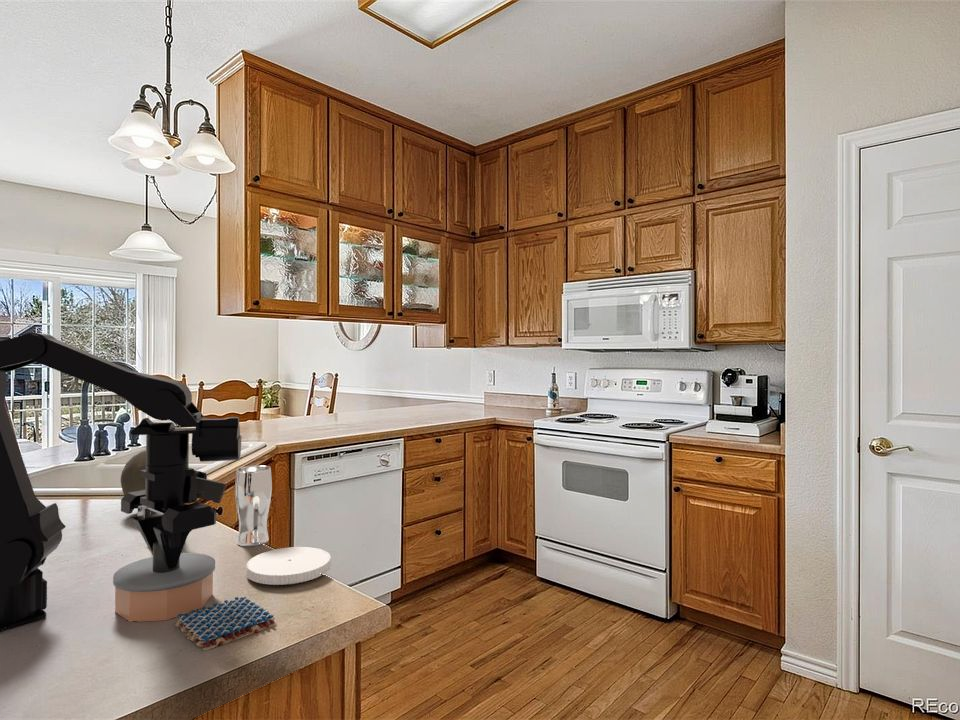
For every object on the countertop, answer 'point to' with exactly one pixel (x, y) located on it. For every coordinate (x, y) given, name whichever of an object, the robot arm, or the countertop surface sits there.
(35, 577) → the robot arm
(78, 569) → the countertop surface
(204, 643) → the woven mat
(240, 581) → the countertop surface
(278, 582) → the plastic lid
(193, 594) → the bowl
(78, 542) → the countertop surface
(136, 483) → the cantaloupe
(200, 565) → the cover
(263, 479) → the beer glass
